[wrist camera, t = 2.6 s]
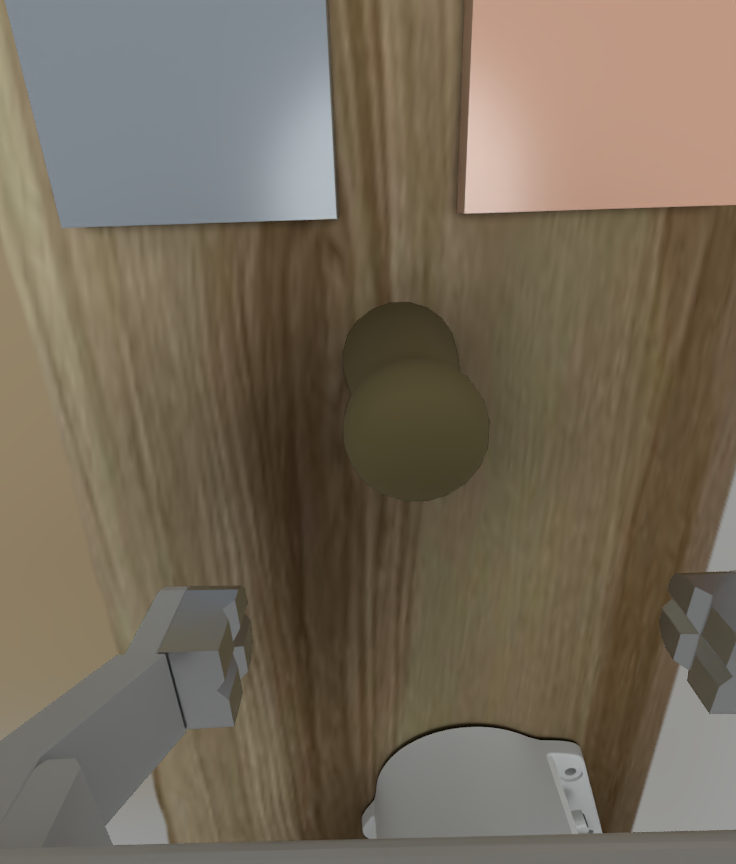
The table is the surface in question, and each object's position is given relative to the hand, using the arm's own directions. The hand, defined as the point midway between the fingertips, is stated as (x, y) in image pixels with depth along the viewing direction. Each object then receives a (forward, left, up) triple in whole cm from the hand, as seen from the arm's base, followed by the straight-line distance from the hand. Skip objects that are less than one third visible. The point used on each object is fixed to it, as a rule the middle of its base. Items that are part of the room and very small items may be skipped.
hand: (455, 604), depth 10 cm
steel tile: (+15, +2, -18) cm, 24 cm away
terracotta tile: (+7, -14, -18) cm, 24 cm away
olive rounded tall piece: (0, 0, -19) cm, 19 cm away
